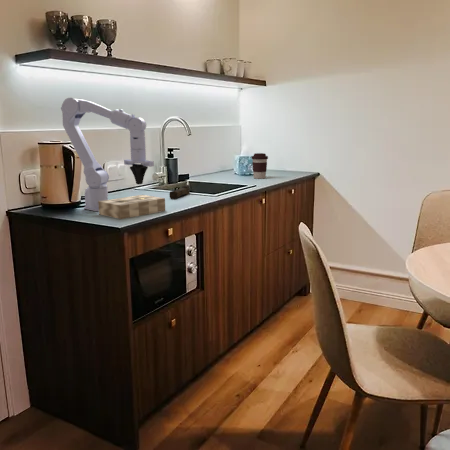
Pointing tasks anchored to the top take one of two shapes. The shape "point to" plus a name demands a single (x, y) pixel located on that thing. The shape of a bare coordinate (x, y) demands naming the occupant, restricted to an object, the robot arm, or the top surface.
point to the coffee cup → (259, 165)
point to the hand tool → (180, 192)
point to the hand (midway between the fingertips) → (139, 184)
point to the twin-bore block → (131, 206)
